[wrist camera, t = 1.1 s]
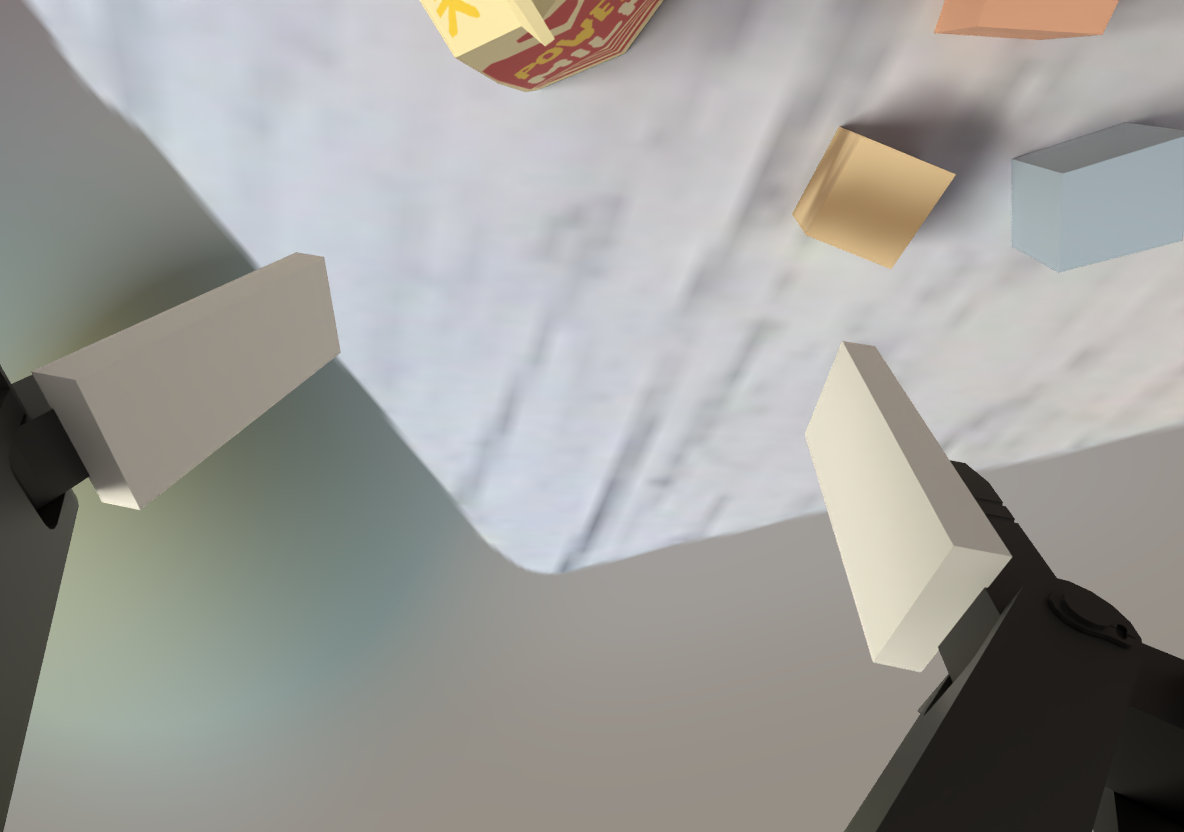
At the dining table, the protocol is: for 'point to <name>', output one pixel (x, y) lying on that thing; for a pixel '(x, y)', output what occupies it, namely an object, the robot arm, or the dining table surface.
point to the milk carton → (538, 35)
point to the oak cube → (869, 198)
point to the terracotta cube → (1025, 18)
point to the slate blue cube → (1099, 196)
